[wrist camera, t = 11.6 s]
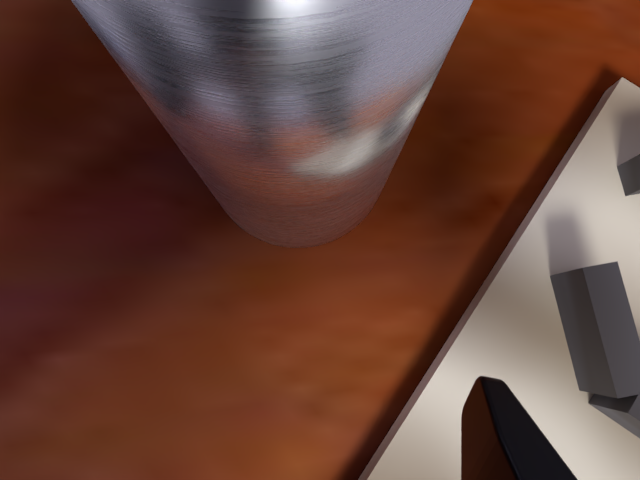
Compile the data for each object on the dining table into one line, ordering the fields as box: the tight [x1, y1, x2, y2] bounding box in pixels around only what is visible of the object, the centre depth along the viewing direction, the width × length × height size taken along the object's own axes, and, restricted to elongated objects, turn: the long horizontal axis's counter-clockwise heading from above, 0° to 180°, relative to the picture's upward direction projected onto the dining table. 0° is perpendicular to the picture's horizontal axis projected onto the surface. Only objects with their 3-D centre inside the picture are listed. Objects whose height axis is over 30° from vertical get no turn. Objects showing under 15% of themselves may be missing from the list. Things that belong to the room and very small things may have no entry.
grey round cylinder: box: [71, 0, 473, 248], centre depth 11 cm, size 6×6×13 cm
